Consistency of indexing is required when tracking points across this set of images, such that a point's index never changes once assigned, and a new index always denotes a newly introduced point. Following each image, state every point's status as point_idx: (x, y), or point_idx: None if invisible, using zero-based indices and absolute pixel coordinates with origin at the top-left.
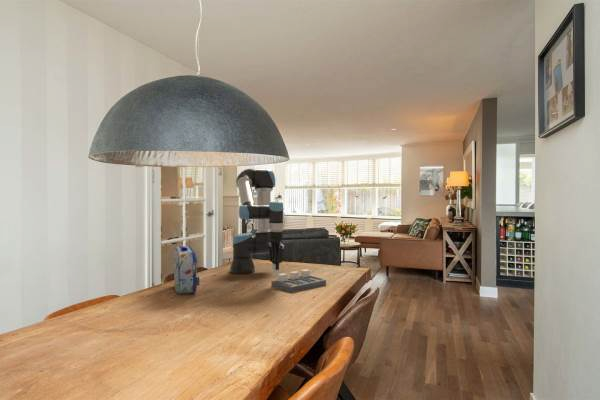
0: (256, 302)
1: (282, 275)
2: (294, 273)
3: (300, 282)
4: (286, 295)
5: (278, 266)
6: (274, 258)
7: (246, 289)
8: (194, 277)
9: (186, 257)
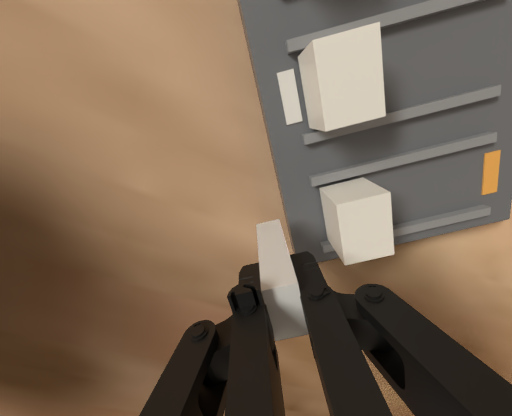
0: None
1: (391, 239)
2: (381, 96)
3: (469, 102)
4: (504, 249)
5: (320, 277)
6: (277, 386)
7: (292, 364)
8: None
9: None
